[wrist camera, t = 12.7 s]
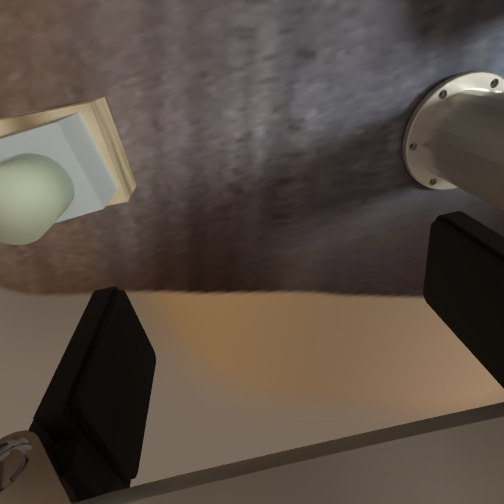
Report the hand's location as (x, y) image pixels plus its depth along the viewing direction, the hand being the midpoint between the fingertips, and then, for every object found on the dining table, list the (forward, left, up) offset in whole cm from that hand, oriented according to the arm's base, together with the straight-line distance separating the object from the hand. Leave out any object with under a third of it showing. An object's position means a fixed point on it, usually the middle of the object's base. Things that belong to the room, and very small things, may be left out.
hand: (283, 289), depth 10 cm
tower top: (+16, -1, -24) cm, 28 cm away
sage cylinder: (+16, 0, -19) cm, 24 cm away
